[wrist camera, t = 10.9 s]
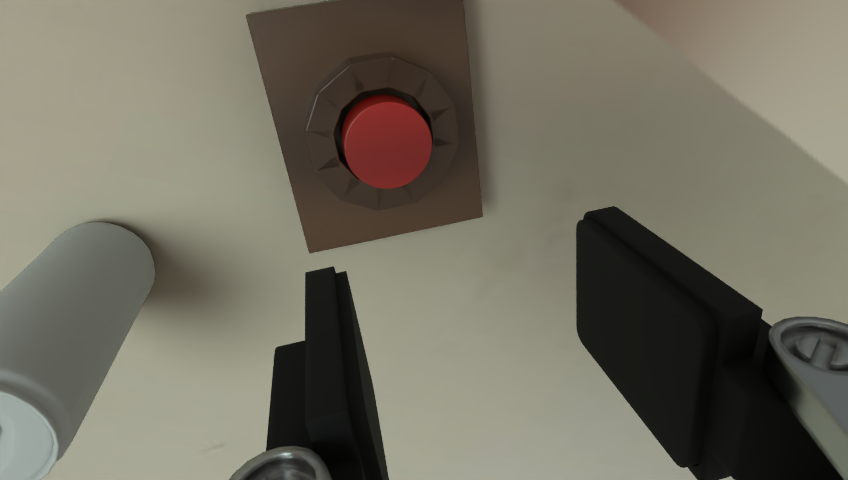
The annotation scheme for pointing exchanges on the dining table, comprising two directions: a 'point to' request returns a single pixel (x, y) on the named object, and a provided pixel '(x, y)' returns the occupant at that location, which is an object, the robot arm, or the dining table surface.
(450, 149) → the button block
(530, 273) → the dining table surface
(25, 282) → the beverage can
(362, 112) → the button
